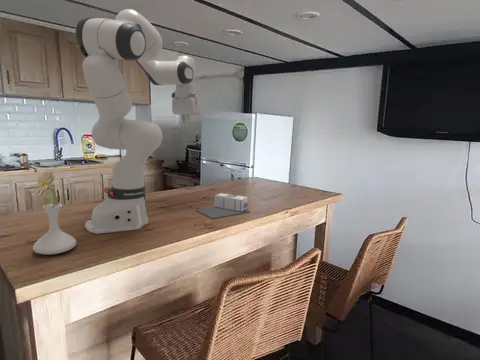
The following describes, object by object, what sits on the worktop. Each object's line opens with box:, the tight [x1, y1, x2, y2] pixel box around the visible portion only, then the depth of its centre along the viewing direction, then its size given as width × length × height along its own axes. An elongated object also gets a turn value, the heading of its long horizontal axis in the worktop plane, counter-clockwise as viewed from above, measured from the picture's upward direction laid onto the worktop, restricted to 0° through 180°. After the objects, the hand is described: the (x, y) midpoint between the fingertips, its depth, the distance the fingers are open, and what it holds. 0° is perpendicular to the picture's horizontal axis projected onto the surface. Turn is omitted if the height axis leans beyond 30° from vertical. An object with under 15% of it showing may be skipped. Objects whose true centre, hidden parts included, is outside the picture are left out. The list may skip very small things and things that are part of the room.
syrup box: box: [214, 192, 249, 211], centre depth 146 cm, size 6×6×14 cm
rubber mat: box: [195, 206, 251, 220], centre depth 143 cm, size 20×14×1 cm
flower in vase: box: [32, 169, 77, 255], centre depth 93 cm, size 13×11×25 cm
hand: (185, 125), depth 148 cm, fingers closed
